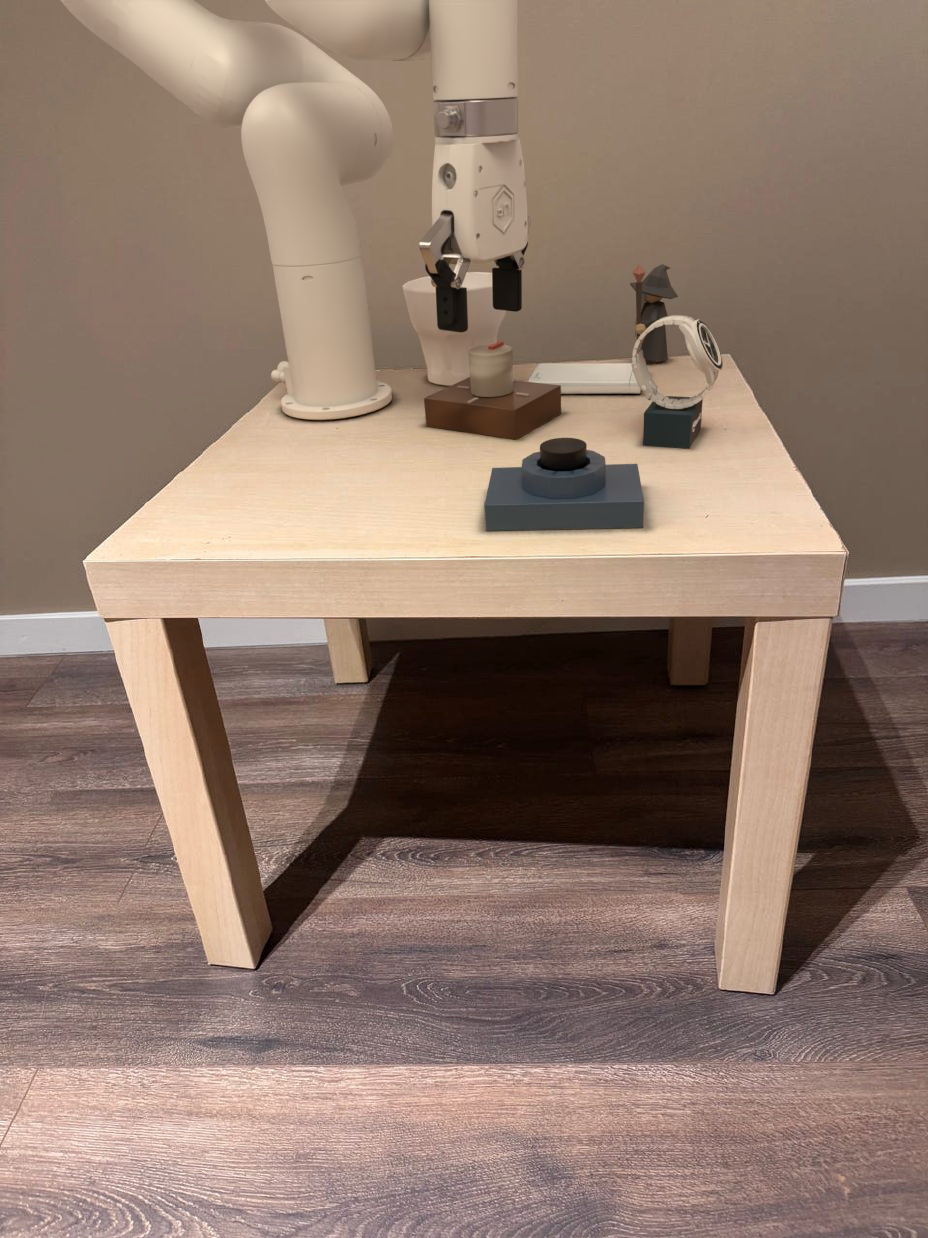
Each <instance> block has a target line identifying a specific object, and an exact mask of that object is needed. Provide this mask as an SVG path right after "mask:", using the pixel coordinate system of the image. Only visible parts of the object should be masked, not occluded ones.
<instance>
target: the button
mask: <svg viewBox="0 0 928 1238" xmlns="http://www.w3.org/2000/svg"><path fill="white" fill-rule="evenodd" d="M587 448H588V447H587V442H586V441H584V440H582V439H579V438H575V437H556V438H550V439H547V440H544V441H542V442H541V444H540V445H539V452H540V467H541V468H542V469H544V470H550V471H556V472H558V471H574V470H578V469H582V468H584V467H586V466H587V450H588V449H587Z"/></svg>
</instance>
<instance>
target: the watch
mask: <svg viewBox="0 0 928 1238" xmlns="http://www.w3.org/2000/svg"><path fill="white" fill-rule="evenodd" d="M663 325H665V326H671V325H675V326H678V328H679V330H680V332H681V333H682V334H683V336H684V343H685V345H686V349H687V352H688V354H689V356H690V358H691V360H692V362H693V364H694V365H695V366H696V368H697V369H698V370H699V371H700V372H701V373H702V374H704V377H705V380H706V383H707V384H708V385H707V386H705V389H704V390H701V392H698V394H697V395H694V396H678V395H677V396H673V395H664V394H661V392H660V391H658V388H659V387H658V385H657V384H656V382H655V380H654V379H653V377H652V375H651V373H650V370H649V369H648V366H647V365H648V364H646V362H645V359H644V357H643V350H641V346H642V343H643V340H644V338H645V336H646V335H647V334H648V333H649V332H650V331H651V330H653V329H654V328H657V327H659V326H663ZM631 358H632V359H631V362H630V363H631V365H632V369H633V373H634V376H635V378H636V381H637V383H638V385H639V387H640V389H641V393H643V396H644V397H645V398H646V399H647V400H648V401H652V402H651V403H650V404H649V405H648V407H647V408H646V409H645V411H644V412H643V427H642V428H643V429H642V431H643V432H642V446H645V447H660V448H661V447H662V448H675V449H676V448H677V449H687V450H688V449H691V447H692V445H694V442H695V440H696V438H697V437H698V435H699V433H700V431H702V418H703V417H702V416H703V415H702V414H703V401H704V399H705V397H706V396H707V395H708V393H709V392H710V391H711V389H712V387H713V386H714V385H715V382H716V381H717V379H718V376H719V373H720V371H721V370H722V369H723V357H722V354H721V350H720V348H719V345H718V343H717V341H716V338H715V337H714V335H713V333H712V332H711V330H710V328H709V327H708V326H707V324H706V323H705V322H704V321H703V320H702V319H699V318H697V319H696V320H695V319H694V318H693V317H691V316H688V315H683V314H681V315H680V314H676V315H675V314H672V315H667V317H664V318H661V319H659V320H657V321H656V322H654V323H653V324H652V325H650V326H649V327H648V328H647V329H646V330H645V331H644V332H643V333H642V334H640V337H639V338H638V340H637V339H636V341H635V343H634V345H633V349H632V354H631Z"/></svg>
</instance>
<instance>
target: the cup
mask: <svg viewBox="0 0 928 1238" xmlns="http://www.w3.org/2000/svg"><path fill="white" fill-rule="evenodd" d="M401 287H402V291H403V296H404V299H405V304H406V308H407V312H408V316H409V321H410V322H411V325H412V326H413V329H414V330H415V332H416V335H418V339H419V342H420V346H421V350H422V353H423V358H424V362H425V366H426V375H427V380H428V382H429V383H431V384H433V385H438V386H443V387H444V386H445V387H449V386H451V385H453V384H456V383H458V382H460V381H462V380H464V379H467V378H469V377H470V368H469V352H468V351H469V350H470V349H471V348H474V347H477V346H482V345H492V344H495V343H497V342H498V335H499V330H500V328H501V325H502V324H503V321H504V319H505V317H506V316H507V311H505V310H496V309H494V308H493V293H492V272H485V271H467V273H466V275H465V278H464V281H463V283H462V286H461V287H465V288H467V312H468V329H467V331H465V332H462V333H461V332H453V331H446V330H440V329H439V328H438V326H437V307H436V287H433V286H432V284H431V277H430V276H429V275H428V276H422V277H419V278H414V279H412V280H408V281H406V283H403V284H402V286H401Z"/></svg>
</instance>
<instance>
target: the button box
mask: <svg viewBox="0 0 928 1238" xmlns="http://www.w3.org/2000/svg"><path fill="white" fill-rule="evenodd" d="M638 464H639V463H616V464H615V463H610V464H607V463H606V457H605V456H603V455H602V454H600V453H598V452H596V451H595V450H591V449H587V466H586V467H584V468H582V469H578V470H574V471H558V472H556V471H550V470H544V469H542V468H541V467H540V451H536V452H532V453H531V454H529V455H527V456H526V457H524V458H522V460H521V466H513V467H512V466H510V467H509V466H507V467H506V466H505V467H492V468H491V472H490V476H489V482H488V485H487V491H486V496H485V500H484V505H483V506H484V507H483V508H484V522H485V531H486V532H493V531H494V532H497V531H498V532H499V531H545V530H547V531H549V530H551V531H552V530H553V531H554V530H593V529H594V530H596V529H643V528H644V517H645V514H644V513H645V499H644V493H643V488H642V481H641V476H640V469H639V465H638Z"/></svg>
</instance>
